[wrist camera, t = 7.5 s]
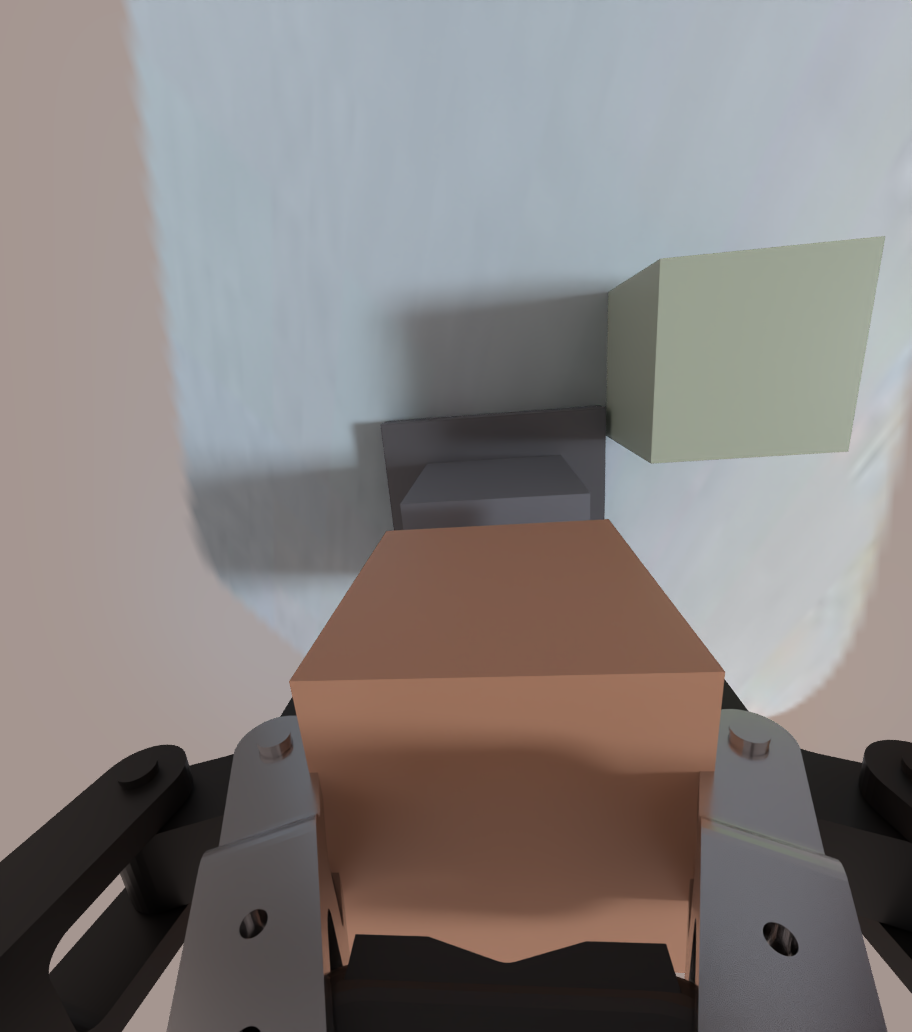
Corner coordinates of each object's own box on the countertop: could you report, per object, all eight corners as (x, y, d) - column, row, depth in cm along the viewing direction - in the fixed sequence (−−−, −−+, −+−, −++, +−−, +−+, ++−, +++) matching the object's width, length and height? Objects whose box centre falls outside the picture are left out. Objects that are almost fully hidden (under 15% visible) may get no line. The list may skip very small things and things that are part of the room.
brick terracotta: (386, 530, 12) (288, 681, 6) (608, 519, 11) (724, 671, 6) (410, 710, 14) (350, 960, 8) (605, 707, 13) (693, 973, 7)
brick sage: (607, 292, 18) (660, 258, 12) (758, 277, 18) (885, 235, 12) (605, 435, 20) (650, 463, 14) (743, 426, 19) (848, 451, 14)
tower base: (385, 421, 20) (333, 449, 14) (600, 405, 19) (657, 426, 13) (408, 608, 23) (374, 708, 16) (598, 601, 22) (643, 704, 15)
